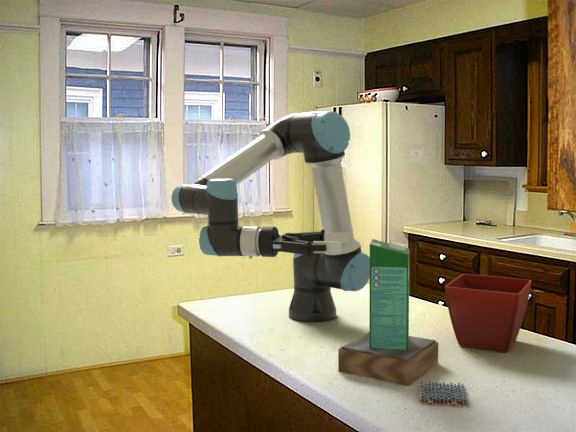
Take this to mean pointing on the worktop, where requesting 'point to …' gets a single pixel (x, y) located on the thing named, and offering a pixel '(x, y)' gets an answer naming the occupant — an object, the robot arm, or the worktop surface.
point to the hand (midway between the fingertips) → (345, 242)
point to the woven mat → (443, 394)
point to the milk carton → (389, 295)
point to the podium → (388, 360)
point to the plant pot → (487, 310)
